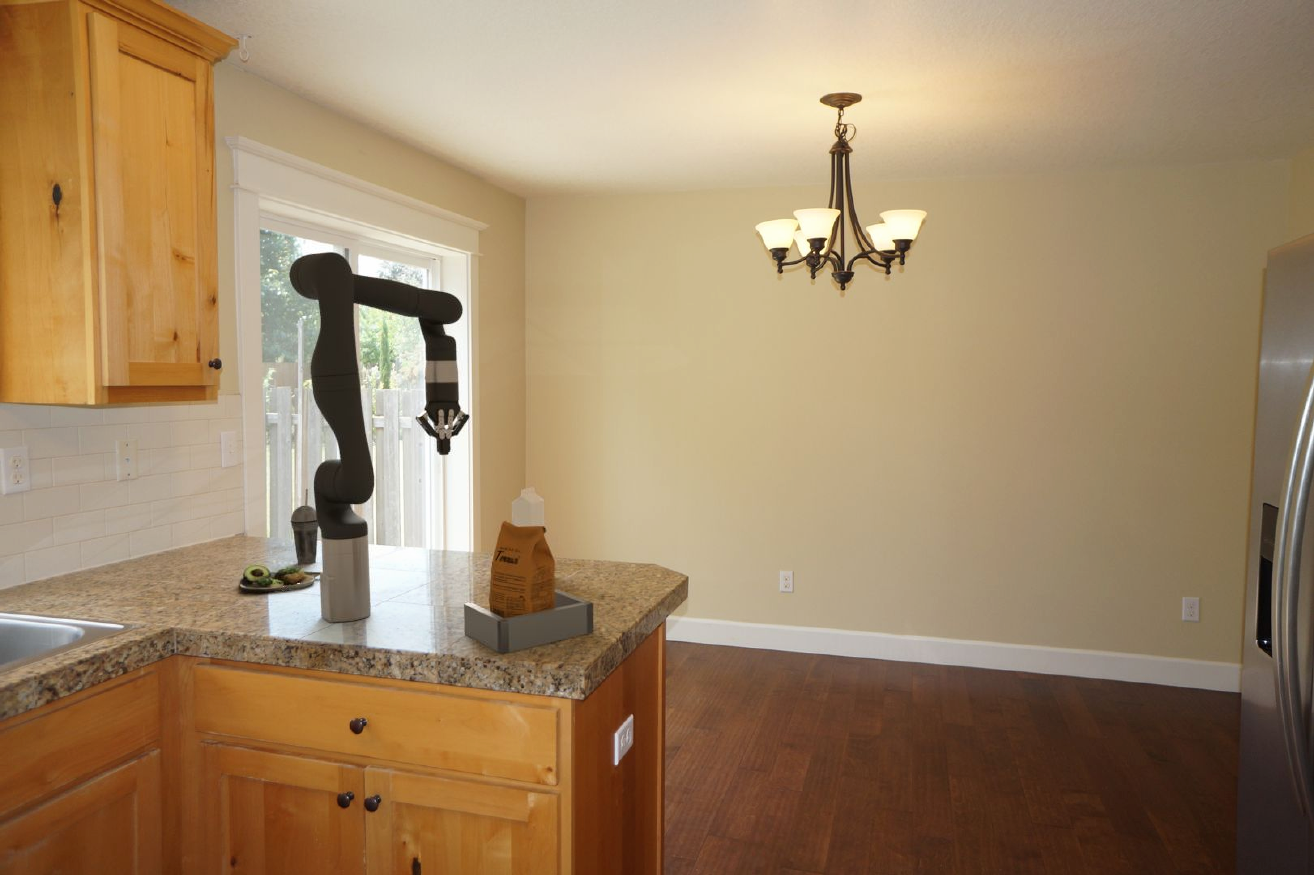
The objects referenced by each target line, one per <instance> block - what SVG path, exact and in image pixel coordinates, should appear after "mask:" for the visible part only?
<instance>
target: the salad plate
mask: <svg viewBox="0 0 1314 875" xmlns="http://www.w3.org/2000/svg"><path fill="white" fill-rule="evenodd" d="M304 569H305V567H302V568H301V569H300V568H299V567H298V566H296V567H289V566H287V567H285V568H282V569H279V570H278V571H277V572H276V571H275V572H273V571H271V572H270V569H269V568H268V567H265V566H263V565H258V564H255V565H254V564H253V565H250V566H248V567H246V568H245V569H244V570H243V575H242V577H241V579H240V580H239V591H241V593H243V594H251V595H252V594H253V595H254V594H255V595H260V594H270V593H269V592H271V593H276V592H275V591H280V592H283V591H282V590H287V591H290V590H289V589H293V590H299V589H303V587H304V588H306V586H307V587H309V585H310V586H311V584H312V585H313V584H314V583H315V578H317V577H320V572H321V571H306V570H304ZM297 583H300V584H297ZM291 584H293V585H291ZM294 584H295V585H294ZM284 585H288V586H284ZM283 586H284V587H283Z"/></svg>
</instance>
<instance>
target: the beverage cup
mask: <svg viewBox="0 0 1314 875" xmlns="http://www.w3.org/2000/svg"><path fill="white" fill-rule="evenodd" d="M308 492H309V489H308V488H306V489H305V498H304V500H305V501H304V502H305V503H304V505H301V506H299V507H297V508H295V509H294V511H292V515H291V519H290V523H291V528H292V532H293V539H294V546H295V554H296V560H297V564H298V565H302V564H304V565H311V564H315V563H316V562H317V552H318V550H317V549H318V548H317V547H318V533H319V532H318V530H319V525H318V523H317V518H316V508H315V507H312V506H311V505H308V496H309V495H308V494H309V493H308Z"/></svg>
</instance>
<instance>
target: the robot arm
mask: <svg viewBox="0 0 1314 875" xmlns="http://www.w3.org/2000/svg"><path fill="white" fill-rule="evenodd" d="M288 276H289V282H290V284H291V286H292V288H293V289H294V290H295V292H296V293H297V294H298V295H300V296H301V297H303V298H305V299H308V300H312V301H318V308H319V318H320V327H319V333H318V337H317V340H316V343H315V347H314V350H313V351H312V352H313V353H312V357H311V362H310V377H311V379H310V380H311V387H312V388H311V389H312V395H313V399H314V402H315V404H316V406H317V408H318V410H319V411H320V414H321V415H322V417H323V418H324V420H325V421H326V422H327V425H328V426H329V427H330V429H331V431H332V433H333V434H334V436H335V439H336V442H337V446H338V447H337V448H338V452H339V458H335V459H333V458H332V459H326V460H324V461H323V462H321V463H320V464H319V465H318V467H317V468H316V471H315V473H314V476H313V477H314V479H313V494H314V495H313V497H314V498H313V499H314V505H315V506H314V509H315V510H316V518H317V523H318V525H319V526H318V528H319V529H320V533H321V534H320V535H321V536H320V537H321V563H322V565H321V566H322V571H319V572H320V575H319V587H320V590H319V591H320V609H321V610H320V612H321V615H320V616H321V618H323V619H324V620H325V621H327V622H328V623H336V622H337V623H338V622H339V623H340V622H342V623H343V622H352V621H357V620H358V621H359V620H361V619H365V618H368V617H369V616H371V612H372V611H371V610H372V609H371V607H372V606H371V604H372V603H371V584H370V583H371V581H370V558H369V557H370V555H369V554H370V553H369V550H370V549H369V547H370V546H369V527H368V523H367V521H366V520H365V519H364V518H363V517H360V515H358V514H356V512H355V511H354V510H353V509H352V506H351V505H363V504H365V503H367V502H368V501H369V500H370V499H371V497H372V496H373V493H374V489H375V471H374V466H373V460H372V457H371V452H370V448H369V443H368V442H369V441H368V437H367V432H366V426H365V417H364V411H363V401H362V400H363V399H362V390H361V389H362V388H361V380H360V378H361V377H360V369H359V362H358V354H357V345H356V344H357V343H356V342H357V341H356V332H355V310H354V309H355V305H361V306H365V307H369V308H372V309H376V310H380V311H384V312H387V313H391V314H395V315H399V316H403V317H408V318H417V319H418V323H419V327H420V331H421V334H422V335H421V336H422V337H423V341H424V343H425V344H424V345H425V347H424V348H425V366H424V382H425V383H424V384H425V386H424V388H425V406H424V408H423V409H424V410H423V412H421V414H420V415H416V416H415V420H416V421H417V423H418V424H419V425H420V427H421V428H422V429H423V431H424V432H425V433H426V434H427V435H428V436H429V437H432V438H434V439H436V440H435V441H436V452H437V453H438V454H439V456H448V455H449V453H451V450H452V449H451V447H452V446H451V439H452V437H457V436H459V433H460V432H461V431H462V429H463V428H464V426H466V423H467V422H468V420H469V419H470V415H469V414H468V413H465V412H464V411H463V410H461V405H460V403H459V401H460V395H459V394H460V391H459V390H460V389H459V386H460V385H459V368H458V367H459V366H458V358H457V357H458V356H457V354H458V352H457V340H456V339H455V337H454V336H451V335H450V334H449V335H448V334H447V333H446V331H445V330H446V329H445V328H444V325H452V324H454V323H456V322H458V321H459V320H460V319H461V317H462V315H463V310H464V309H463V308H464V307H463V305H462V302H461V300H460V299H459V298H458V297H457V296H456V295H454V294H452V293H449V292H446V291H440V290H435V289H427V288H422V287H417V286H415V285H413V284H408V283H405V282H402V281H398V280H393V279H388V278H380V277H373V276H369V275H367V276H366V275H361V274H357V273H353V271H352V267H351V264H350V263H349V261H348V260H347V259H346V258H345V257H344V256H343V255H342V254H340V253H338V252H333V251H328V252H319V253H309V254H306V255H302V256H300V257H298V258H297V259H296V260H294V261H293V263H292V264H291V266H290V268H289V275H288ZM456 419H457V420H456ZM429 420H430V421H431V423H432V424H433V426H432V424H430V422H429ZM455 420H456V421H455ZM454 422H455V423H454Z"/></svg>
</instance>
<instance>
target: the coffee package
mask: <svg viewBox="0 0 1314 875" xmlns="http://www.w3.org/2000/svg"><path fill="white" fill-rule="evenodd" d="M499 530H500V531H499V533H498V536H497V541H496V546H495V548H494V552H493V559H492V560H491V570H490V580H489V581H490V582H489V596H488V602H489V603H488V604H489V611H490V612H492V613H494V614H496V615H498V616H500V617H502V618H509V617H514V616H519V615H524V614H529V613H534V612H539V611H544V610H549V609H554V608H555V607H554V604H555V594H554V592H555V589H556V580H555V579H556V578H555V572H556V571H555V570H556V569H555V568H556V567H555V566H556V564H555V563H556V562H555V558H554V556H553V554H552V551H551V549H550V546H549V544H548V543H547V539H546V535H545V536H544V533H545V534H546V533H547V528H546V527H544V526H522V527H517V526H515V525H513V524H512V522H508V521H506V520H504V521H502V523H501V526H500V529H499Z"/></svg>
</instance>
